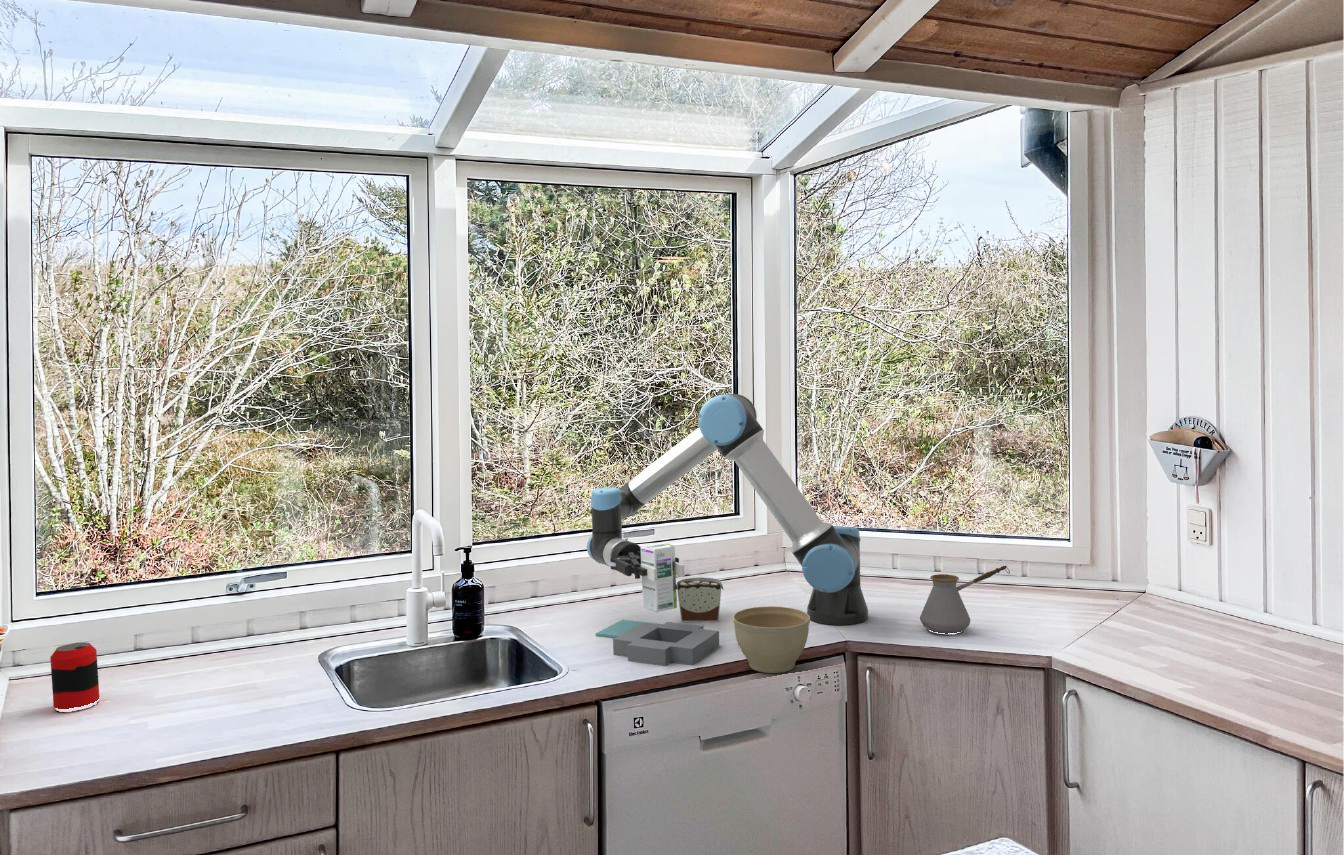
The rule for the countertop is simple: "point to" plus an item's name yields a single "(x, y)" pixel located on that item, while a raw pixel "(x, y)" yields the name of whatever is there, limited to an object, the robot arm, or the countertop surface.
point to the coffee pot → (948, 604)
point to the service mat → (619, 628)
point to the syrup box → (659, 577)
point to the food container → (699, 599)
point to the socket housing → (666, 643)
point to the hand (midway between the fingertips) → (669, 572)
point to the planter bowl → (771, 636)
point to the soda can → (74, 675)
